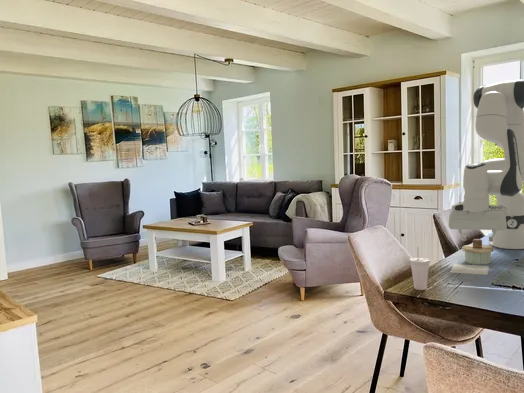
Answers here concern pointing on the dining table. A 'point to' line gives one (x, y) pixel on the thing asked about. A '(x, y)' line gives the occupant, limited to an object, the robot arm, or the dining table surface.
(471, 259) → the bowl
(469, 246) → the lid
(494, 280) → the dining table surface
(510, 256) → the dining table surface
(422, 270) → the smoothie
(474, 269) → the mat
